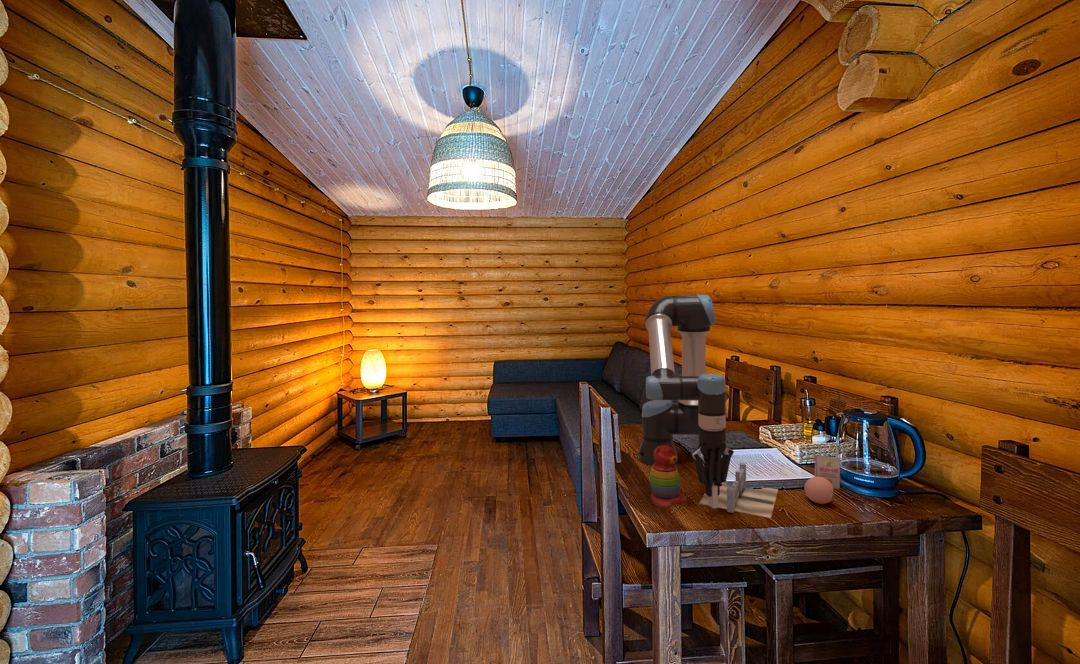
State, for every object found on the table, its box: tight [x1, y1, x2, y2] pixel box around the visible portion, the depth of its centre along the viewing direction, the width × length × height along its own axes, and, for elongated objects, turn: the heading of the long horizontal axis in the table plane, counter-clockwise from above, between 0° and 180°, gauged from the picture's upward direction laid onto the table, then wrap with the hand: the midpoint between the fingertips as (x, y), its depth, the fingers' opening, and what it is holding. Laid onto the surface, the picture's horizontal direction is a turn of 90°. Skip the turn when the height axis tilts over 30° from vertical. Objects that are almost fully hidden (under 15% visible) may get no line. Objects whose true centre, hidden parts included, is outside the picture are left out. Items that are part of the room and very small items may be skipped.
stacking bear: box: [649, 444, 688, 509], centre depth 147 cm, size 11×10×18 cm
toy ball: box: [804, 476, 835, 505], centre depth 142 cm, size 8×8×8 cm
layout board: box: [698, 482, 779, 519], centre depth 147 cm, size 22×20×1 cm
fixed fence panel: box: [734, 462, 747, 497], centre depth 151 cm, size 12×2×8 cm, turn 148°
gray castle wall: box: [726, 480, 739, 514], centre depth 141 cm, size 12×2×7 cm, turn 148°
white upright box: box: [814, 455, 841, 491], centre depth 153 cm, size 4×7×10 cm, turn 63°
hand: (712, 506), depth 137 cm, fingers closed
